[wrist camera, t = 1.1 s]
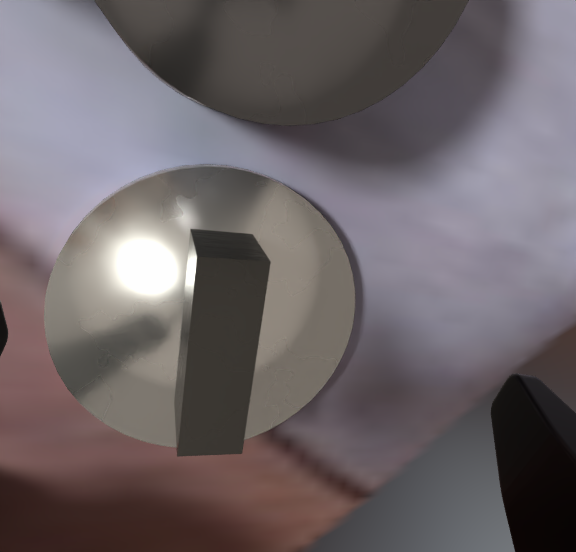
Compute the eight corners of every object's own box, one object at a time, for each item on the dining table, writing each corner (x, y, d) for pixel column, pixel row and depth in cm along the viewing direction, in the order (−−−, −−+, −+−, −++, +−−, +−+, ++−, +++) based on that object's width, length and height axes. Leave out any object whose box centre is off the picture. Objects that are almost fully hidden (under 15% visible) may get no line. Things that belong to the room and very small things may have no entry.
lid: (320, 428, 26) (352, 495, 22) (50, 435, 22) (25, 518, 18) (371, 182, 22) (423, 205, 17) (49, 141, 18) (16, 158, 14)
